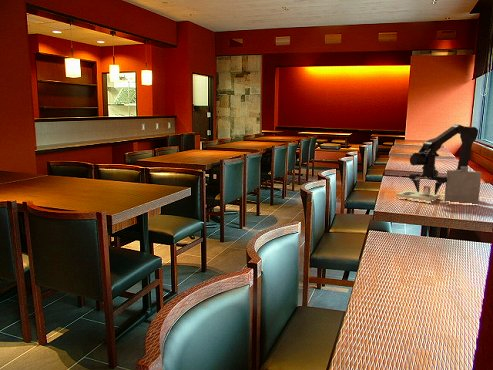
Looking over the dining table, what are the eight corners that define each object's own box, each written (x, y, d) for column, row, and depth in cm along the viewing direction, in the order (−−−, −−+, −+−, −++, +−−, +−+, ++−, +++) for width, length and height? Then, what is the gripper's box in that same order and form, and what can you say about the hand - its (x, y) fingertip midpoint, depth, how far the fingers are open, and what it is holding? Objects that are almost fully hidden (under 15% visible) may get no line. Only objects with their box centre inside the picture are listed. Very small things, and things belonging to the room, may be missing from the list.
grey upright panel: (477, 205, 219) (481, 167, 216) (478, 206, 216) (482, 168, 212) (444, 202, 226) (447, 165, 222) (444, 203, 222) (447, 166, 218)
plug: (430, 200, 229) (431, 186, 228) (427, 201, 227) (429, 187, 225) (424, 199, 231) (425, 185, 230) (421, 200, 229) (422, 186, 228)
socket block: (439, 200, 231) (440, 194, 230) (429, 204, 221) (429, 197, 220) (407, 195, 243) (407, 189, 243) (396, 198, 234) (396, 193, 233)
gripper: (452, 165, 225) (450, 193, 228) (418, 162, 238) (415, 189, 240) (444, 167, 217) (442, 196, 220) (409, 163, 230) (407, 191, 233)
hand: (426, 193), depth 228 cm, fingers open, 9 cm apart
